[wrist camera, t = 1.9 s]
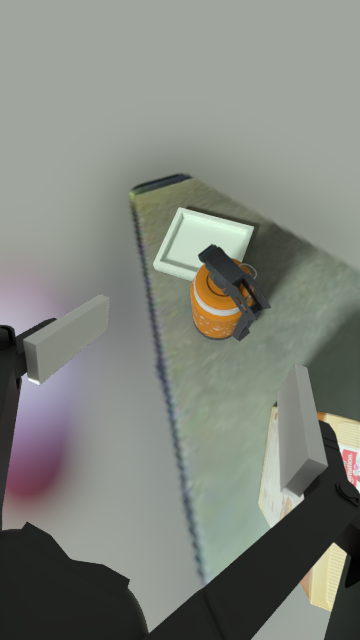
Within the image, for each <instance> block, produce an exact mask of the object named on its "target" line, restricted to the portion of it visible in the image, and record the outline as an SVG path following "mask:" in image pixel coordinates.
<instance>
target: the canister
mask: <svg viewBox="0 0 360 640" xmlns="http://www.w3.org/2000/svg"><path fill="white" fill-rule="evenodd" d="M198 258H199V260H200V261H201V262H202V263H205V264H203V265H202V266H201V267H200V268H199V270H198V271H197V273H196V275H195V277H194V279H193V281H192V284H191V289H190V295H191V304H192V312H193V320H194V324H195V327H196V329H197V330H198V331H199V332H200V333H201V334H202V335H203V336H205V337H206V338H209V339H212V340H224V339H227V338H229V337H231V336H233V337H235V338H236V339H237V340H238V341H241V340H242V339H243V338H244V337H245V336H247V335H248V334H249V333H250V331H249V329H248V328H249V327H250V325H251V324H252V323H253V321H254V320H257V317H258V315H259V314H260V311H261V309H267V308H271V307H270V305H269V303H268V302H267V300H266V298H265V297H264V295H263V294H262V292H261V290H260V289H259V287H258V285H257V284H256V282H255V280H254V279H255V278H256V277H257V272H256V270H255V269H254V268H253V267H252V266H251V265H249V264H244V263H242V262H240V261H238V260H236V259H234V258H230V257H229V256H228V255H227V254H226V253H225V252H224V250H223V249H222V248H221V247H219V246H218V247H217V246H216V245H213V244H211V245H210V246H208V247H207V248H206V249H205V250H203V251H202V252H201V253H199V254H198ZM246 266H248V267H250V268H251V269H252V270H253V271H254V273H255V277H254V278H253V277H252V275H251V272H250V271H249V269H248V268H247V267H246ZM254 290H255V291H256V293H257V295H258V296H259V298H260V300H261V301H262V302H261V301H259V300H258V298H257V297H256V295H255V291H254ZM253 301H254V302H255V303H254V304H253V305H252V303H253ZM251 305H252V306H251Z"/></svg>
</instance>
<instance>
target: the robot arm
mask: <svg viewBox="0 0 360 640" xmlns="http://www.w3.org/2000/svg"><path fill="white" fill-rule="evenodd" d="M108 312H109V297H107V296H104V295H101V294H100V295H98V296H96V297H95V298H93V299H91V300H90V301H88V302H86V303H84V304H83V305H81V306H79V307H78V308H76V309H74V310H72V311H71V312H69V313H67V314H66V315H64V316H62V317H61V318H59V319H56V318H52V319H48V320H45V321H43V322H41V323H40V324H38V325H36V326H34V327H33V328H30V329H29V330H27V331H25V332H23V333H22V334H20V335H18V336H16V337H15V331H14V328H12V327H11V326H7V325H0V640H251V639H252V638H253V636H254V635H255V634H256V633H257V632H258V631H259V629H260V628H261V627H262V626H263V625H264V623H265V622H266V621H267V620H268V619H269V618H270V616H271V615H272V614H273V613H274V612H275V610H276V609H277V608H278V607H279V606H280V605H281V604H282V602H283V601H284V600H285V599H286V598H287V596H288V595H289V594H290V593H291V591H293V589H294V588H295V587H296V586H297V585H298V583H299V582H300V581H301V580H302V579H303V578H304V576H305V575H306V574H307V573H308V572H309V571H310V569H311V568H312V567H313V566H314V565H315V564H316V562H317V561H318V560H319V559H320V558H321V557H322V555H323V554H324V553H325V552H326V551H327V549H328V548H329V547H330V546H331V545H332V544H333V542H334V543H335V544H336V545H337V546H339V547H340V548H341V549H342V550H343V551H345V552H346V553H347V555H346V559H345V563H344V566H343V570H342V574H341V578H340V581H339V585H338V589H337V593H336V596H335V600H334V604H333V608H332V611H331V615H330V619H329V623H328V626H327V630H326V634H325V638H324V640H360V493H359V491H358V490H357V488H356V487H355V486H354V485H353V484H352V483H351V482H350V481H348V477H347V474H346V470H345V466H344V463H343V459H342V455H341V452H340V448H339V444H338V441H337V437H336V433H335V432H334V430H333V429H332V427H331V426H330V424H329V423H326V422H324V421H321V420H319V419H318V417H317V412H316V407H315V403H314V398H313V393H312V389H311V384H310V379H309V374H308V370H307V367H304V366H301V365H299V364H296V363H294V365H293V367H292V369H291V370H290V372H289V374H288V376H287V377H286V379H285V381H284V382H283V384H282V386H281V388H280V389H279V391H278V393H277V407H278V437H279V466H280V492H281V493H283V494H285V495H287V496H289V497H292V498H294V499H296V500H298V499H299V498H300V497H301V495H302V494H304V500H303V501H302V502H300V503H299V504H298V505H297V506H296V507H295V508H294V509H292V510H291V511H290V512H289V513H288V514H287V515H286V516H285V517H283V518H282V519H281V520H280V521H279V522H278V523H277V524H275V525H274V526H273V527H272V528H271V529H270V530H269V531H267V532H266V533H265V534H264V535H263V536H262V537H261V538H260V539H258V540H257V541H256V542H255V543H254V544H253V545H252V546H250V547H249V548H248V549H247V550H246V551H245V552H244V553H242V554H241V555H240V556H239V557H238V558H237V559H236V560H235V561H233V562H232V563H231V564H230V565H229V566H228V567H227V568H225V569H224V570H223V571H222V572H221V573H220V574H219V575H217V576H216V577H215V578H214V579H213V580H212V581H211V582H210V583H208V584H207V585H206V586H205V587H204V588H202V589H200V590H199V591H198V592H196V593H195V594H194V595H193V596H192V597H190V598H189V599H188V600H187V601H186V602H185V603H183V604H182V605H181V606H180V607H179V608H178V609H177V610H175V611H174V612H173V613H172V614H171V615H170V616H169V617H167V618H166V619H165V620H164V621H163V622H162V623H161V624H160V625H158V626H157V627H156V628H155V629H154V630H153V631H151V632H150V633H149V632H148V629H147V624H146V620H145V617H144V615H143V612H142V609H141V607H140V605H139V603H138V601H137V599H136V598H135V596H134V595H133V593H132V592H131V591H130V590H129V589H128V588H127V587H128V584H129V581H130V579H128V578H126V577H124V576H122V575H121V574H119V573H117V572H116V571H114V570H112V569H110V568H108V567H107V566H105V565H103V564H96V563H89V562H83V561H76V560H72V559H70V558H69V557H68V556H67V554H66V553H65V552H64V551H63V550H62V548H61V547H60V546H59V545H58V543H57V542H56V541H55V540H54V539H53V537H52V536H51V535H50V534H48V533H46V532H44V531H43V530H41V529H39V528H37V527H35V526H34V525H32V524H30V523H28V522H26V524H25V525H24V526H23V528H22V529H9V530H2V507H3V500H4V494H5V487H6V480H7V474H8V468H9V462H10V455H11V448H12V441H13V435H14V429H15V422H16V416H17V409H18V402H19V396H20V389H21V383H22V378H21V376H22V375H24V374H25V373H26V372H27V375H28V380H29V381H32V382H34V383H36V384H39V385H41V384H42V383H43V382H44V381H45V380H46V379H48V378H49V377H50V376H51V375H53V374H54V373H55V372H56V371H58V370H59V369H60V368H61V367H62V366H64V365H65V364H66V363H67V362H68V361H69V360H71V359H72V358H73V357H74V356H75V355H77V354H78V353H79V352H80V351H81V350H83V349H84V348H85V347H86V346H88V345H89V344H90V343H91V342H92V341H93V340H95V339H96V338H97V337H98V336H100V335H101V334H102V333H103V332H105V331H106V330H107V325H108Z"/></svg>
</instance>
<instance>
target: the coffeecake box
mask: <svg viewBox="0 0 360 640" xmlns="http://www.w3.org/2000/svg"><path fill="white" fill-rule="evenodd" d="M316 412H317V411H316ZM317 417H318V419H319V420H321V421H324V422H326V423H329V424H330V426H331V427H332V429H333V430H334V432H335V433H336V437H337V441H338V444H339V448H340V452H341V455H342V459H343V463H344V466H345V470H346V474H347V477H348V481H350V482H351V483H352V484H353V485H354V486H355V487H356V488H357V490H358V491H359V493H360V421H357V420H353V419H349V418H346V417H342V416H338V415H334V414H330V413H325V412H317ZM303 500H304V494H302V495H301V497H300V498H299V499H298V500H296V499H294V498H292V497H289V496H287V495H285V494H283V493H281V492H280V466H279V437H278V407H276V406H274V407H272V413H271V419H270V425H269V432H268V439H267V446H266V453H265V460H264V467H263V474H262V481H261V488H260V495H259V502H258V505H259V507H260V508H261V510H262V512H263V514H264V516H265V518H266V520H267V521H268V523H269V525H270V527H271V528H272V527H273V526H274V525H275V524H277V523H278V522H279V521H280V520H281V519H282V518H283V517H285V516H286V515H287V514H288V513H289V512H290V511H291V510H292V509H294V508H295V507H296V506H297V505H298V504H299V503H300V502H302V501H303ZM346 555H347V553H346V552H345V551H343V550H342V549H341V548H340V547H339V546H337V545H336V544H335V543H334V542H333V544H332V545H331V546H330V547H329V548H328V549H327V551H326V552H325V553H324V554H323V555H322V557H321V558H320V559H319V560H318V561H317V562H316V564H315V565H314V566H313V567H312V568H311V569H310V571H309V572H308V573H307V574H306V575H305V576H304V578H303V579H302V580H301V581H300V583H301V585H302V586H303V588H304V590H305V592H306V594H307V596H308V598H309V600H310V603H311V604H313V605H316V606H318V607H321V608H324V609H326V610H329V611H332V608H333V604H334V600H335V596H336V593H337V589H338V585H339V581H340V578H341V574H342V570H343V566H344V563H345V559H346Z"/></svg>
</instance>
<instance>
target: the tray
mask: <svg viewBox="0 0 360 640" xmlns="http://www.w3.org/2000/svg"><path fill="white" fill-rule="evenodd" d="M253 229H254V227H253V226H249V225H245V224H241V223H237V222H233V221H230V220H226V219H222V218H218V217H214V216H210V215H207V214H203V213H199V212H195V211H191V210H187V209H184V208H180V207H179V209H178V211H177V213H176V215H175V217H174V219H173V222H172V224H171V226H170V228H169V230H168V233H167V235H166V237H165V239H164V241H163V244H162V246H161V248H160V250H159V252H158V254H157V257H156V259H155V261H154V263H153V265H154V268H155V270H157V271H160V272H163V273H166V274H169V275H173V276H176V277H179V278H182V279H185V280H188V281H193V279H194V277H195V275H196V273H197V271H198V270H199V268H200V267H201V266H202V265H203V264H205V263H202V262H201V261H200V260H199V258H198V254H199V253H201V252H202V251H203V250H205V249H206V248H207V247H208V246H210V245H211V244H213V245H216V246H217V247H218V246H219V247H221V248H222V249H223V250H224V252H225V253H226V254H227V255H228V256H229V257H230V258H234V259H236V260H238V261H240V262H242V261H243V258H244V255H245V252H246V250H247V247H248V244H249V241H250V238H251V236H252V232H253Z"/></svg>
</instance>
